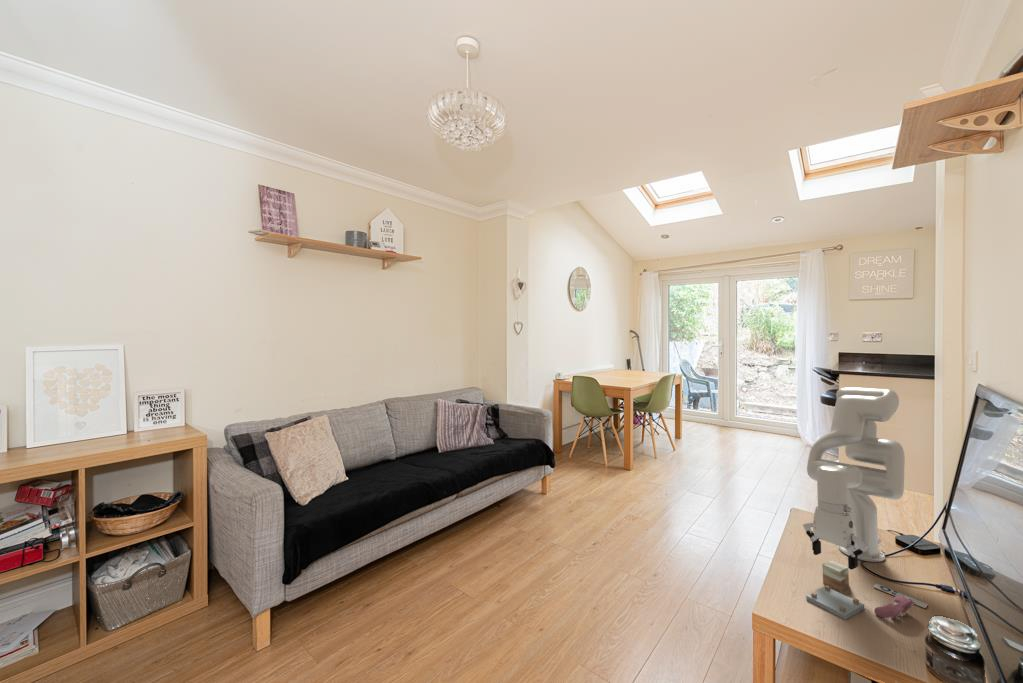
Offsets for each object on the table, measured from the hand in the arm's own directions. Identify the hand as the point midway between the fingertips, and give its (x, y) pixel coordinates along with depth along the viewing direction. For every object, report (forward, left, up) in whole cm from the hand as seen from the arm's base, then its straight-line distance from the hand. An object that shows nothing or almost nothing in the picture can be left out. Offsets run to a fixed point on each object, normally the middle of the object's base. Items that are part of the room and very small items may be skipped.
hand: (834, 560), depth 127 cm
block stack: (-1, 0, -8) cm, 8 cm away
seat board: (+10, +5, -8) cm, 14 cm away
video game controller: (+1, +15, -8) cm, 17 cm away
